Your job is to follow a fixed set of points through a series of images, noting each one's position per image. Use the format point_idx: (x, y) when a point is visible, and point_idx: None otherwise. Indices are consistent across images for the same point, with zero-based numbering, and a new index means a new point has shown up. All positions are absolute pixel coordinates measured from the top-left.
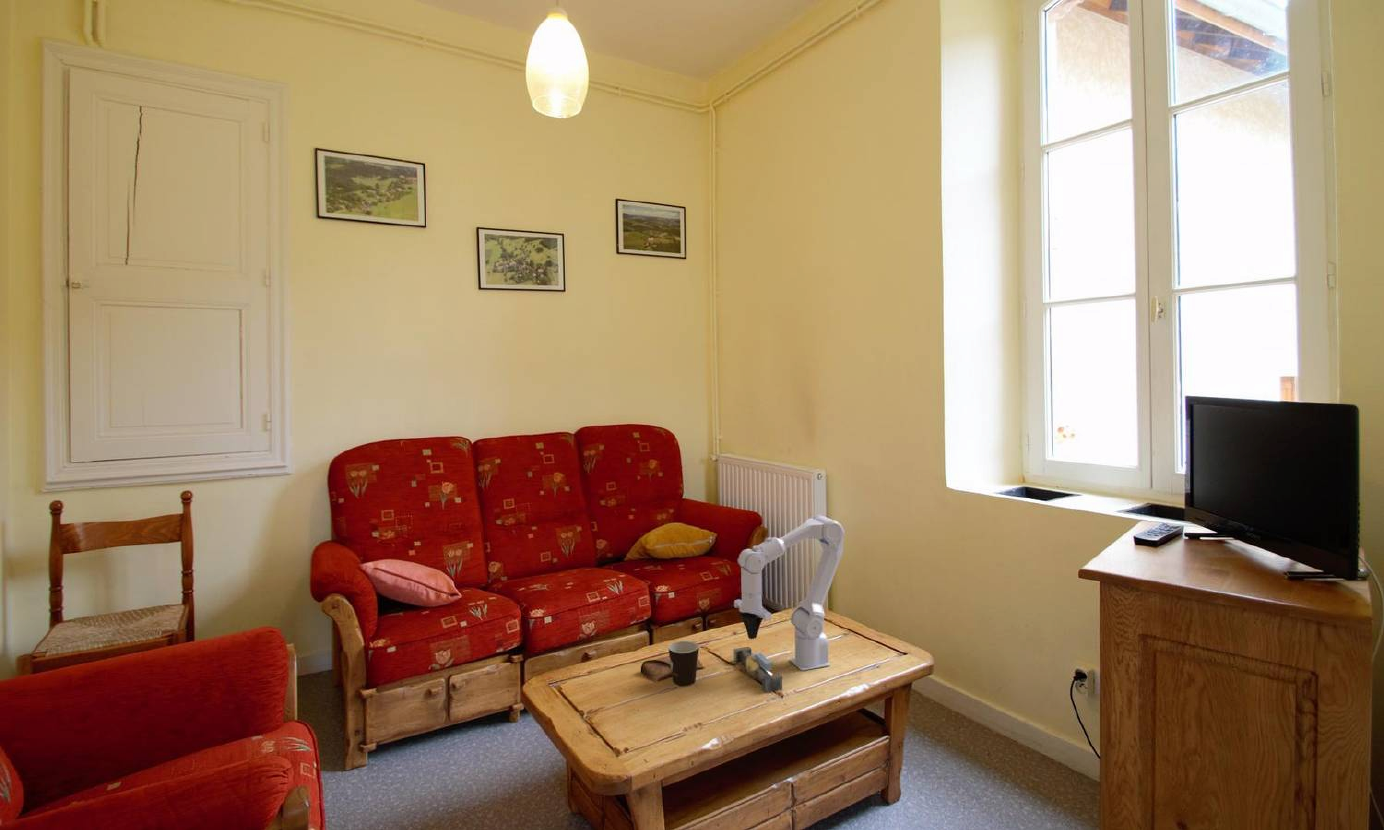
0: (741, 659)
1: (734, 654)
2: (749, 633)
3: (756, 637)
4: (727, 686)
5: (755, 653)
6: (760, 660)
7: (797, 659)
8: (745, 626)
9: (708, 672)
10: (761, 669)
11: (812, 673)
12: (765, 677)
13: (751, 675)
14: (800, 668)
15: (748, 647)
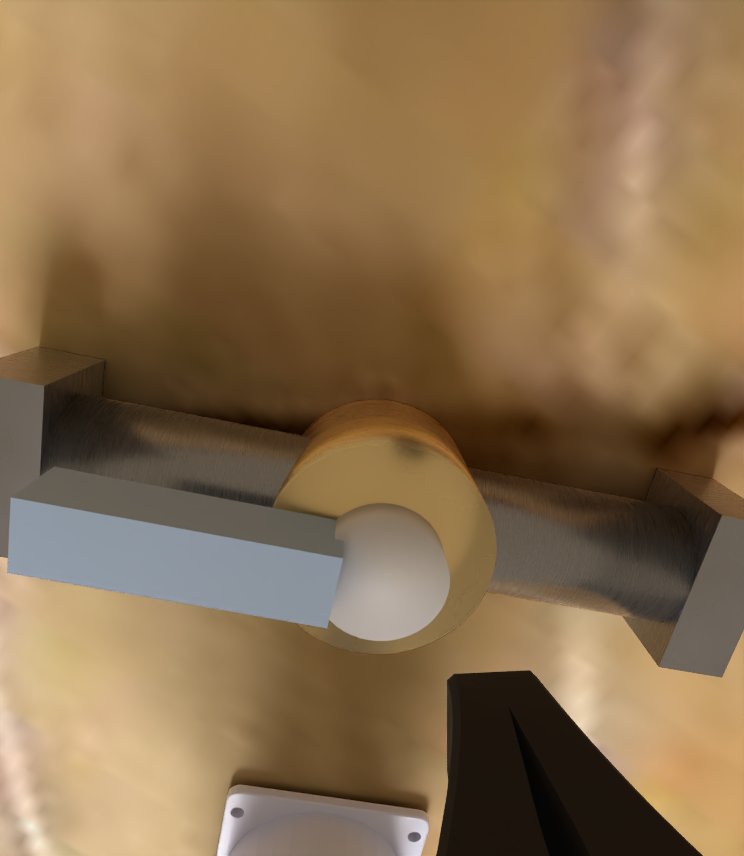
0: (611, 501)
1: (736, 503)
2: (486, 743)
3: (448, 778)
4: (326, 112)
5: (421, 595)
6: (183, 519)
7: (311, 850)
8: (677, 853)
9: (693, 128)
10: (216, 487)
11: (168, 811)
12: (14, 405)
13: (335, 414)
14: (249, 792)
15: (708, 666)
